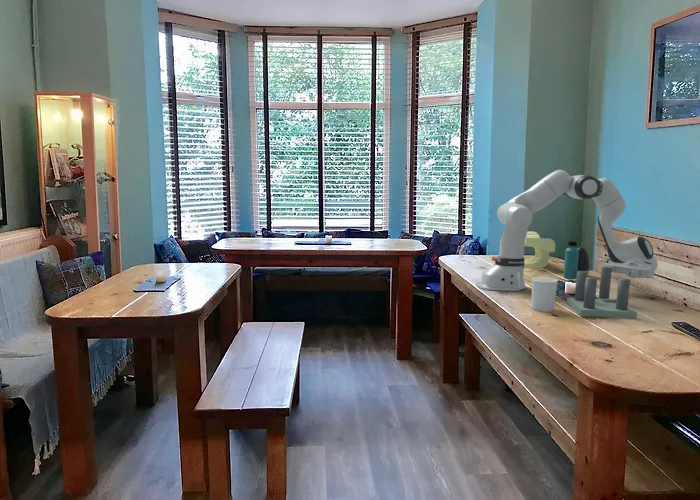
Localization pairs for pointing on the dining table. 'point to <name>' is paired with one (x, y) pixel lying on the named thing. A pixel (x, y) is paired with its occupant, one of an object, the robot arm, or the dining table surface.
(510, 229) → the robot arm
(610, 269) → the stool leg
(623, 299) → the stool seat
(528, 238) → the pale yellow curved piece
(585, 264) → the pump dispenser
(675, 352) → the dining table surface
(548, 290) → the candle holder
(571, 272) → the beverage bottle
